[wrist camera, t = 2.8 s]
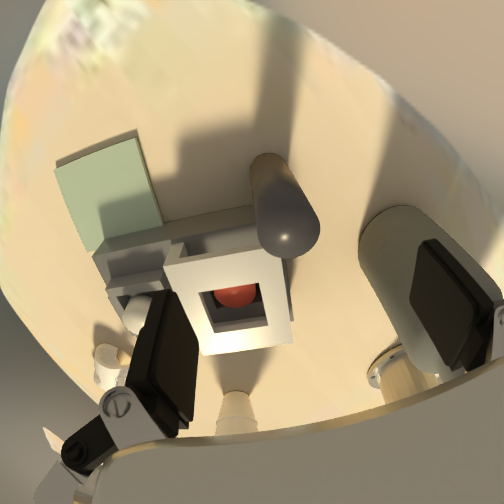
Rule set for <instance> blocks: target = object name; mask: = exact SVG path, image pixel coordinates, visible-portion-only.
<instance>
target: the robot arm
mask: <svg viewBox="0 0 504 504" xmlns="http://www.w3.org/2000/svg"><path fill="white" fill-rule="evenodd" d="M409 301H410V305H411V306H412V308H413V310H414V311H415V313H416V315H417V316H418V318H419V320H420V321H421V323H422V325H423V326H424V328H425V330H426V331H427V333H428V335H429V337H430V338H431V340H432V342H433V344H434V345H435V347H436V349H437V351H438V353H439V355H440V356H441V358H442V360H443V362H444V364H445V365H446V366H449V367H450V369H451V371H452V372H453V371H455V370H458V369H460V368H462V367H464V369H465V374H463V375H461V376H458V377H456V378H454V379H452V380H450V381H447V382H445V383H443V384H440V385H439V383H438V381H437V379H436V377H435V375H434V374H430V373H426V372H423V371H420V370H418V369H417V368H416V367H415V366H414V365H413V364H412V362H411V361H410V359H409V357H408V355H407V353H406V351H405V349H404V347H403V345H399V346H397V347H395V348H393V349H391V350H390V351H388V352H387V353H385V354H384V355H382V356H381V357H380V358H379V359H378V360H377V361H376V362H375V363H374V364H373V365H372V366H371V368H370V369H369V371H368V374H367V379H368V382H369V384H370V385H371V386H372V387H374V388H378V389H381V392H382V395H383V398H384V401H385V403H386V405H383V406H379V407H376V408H373V409H369V410H366V411H362V412H359V413H355V414H351V415H347V416H343V417H339V418H335V419H330V420H326V421H321V422H316V423H311V424H306V425H301V426H295V427H290V428H283V429H277V430H270V431H262V432H253V433H243V434H233V435H221V436H205V437H185V438H178V437H177V435H178V431H179V429H189V422H192V421H193V416H194V402H195V389H196V377H197V365H198V355H199V341H198V338H197V336H196V334H195V332H194V330H193V327H192V325H191V323H190V321H189V319H188V317H187V315H186V312H185V310H184V308H183V306H182V304H181V301H180V299H179V297H178V295H177V293H176V292H172V291H171V289H163V290H157V291H155V292H154V294H153V297H152V300H151V303H150V307H149V310H148V313H147V316H146V320H145V323H144V327H142V328H141V329H140V331H139V334H138V337H137V341H136V344H135V348H134V351H133V355H132V359H131V362H130V366H129V370H128V374H127V377H126V381H125V385H124V386H117V387H113V388H111V389H109V390H108V391H107V392H106V393H104V395H103V396H102V398H101V400H100V402H99V413H100V414H99V415H98V416H97V417H95V418H94V419H93V420H92V421H90V422H89V423H88V424H86V425H85V426H84V427H82V428H81V429H80V430H78V431H77V432H76V433H74V434H73V435H72V436H70V437H69V438H68V439H67V440H66V441H65V442H64V444H63V446H62V450H61V458H62V460H61V462H59V461H57V462H56V463H55V464H54V466H53V467H52V468H51V470H50V471H49V472H48V474H47V475H46V477H45V478H44V479H43V480H42V482H41V483H40V485H39V486H38V487H37V489H36V491H35V493H34V502H35V504H504V305H503V306H500V307H498V308H497V309H496V311H495V309H494V308H493V306H494V302H493V301H492V300H491V299H490V297H489V296H488V295H487V294H486V292H485V291H484V290H483V289H482V288H481V287H480V285H479V284H478V283H477V282H476V281H475V279H474V278H473V277H472V276H471V275H470V274H469V273H468V272H467V270H466V269H465V268H464V267H463V266H462V265H461V264H460V263H459V262H458V261H457V259H456V258H455V257H454V256H453V255H452V254H451V253H450V252H449V251H448V250H447V249H446V248H445V247H444V246H443V245H442V244H441V243H440V242H439V241H438V240H437V239H435V238H433V239H429V240H424V241H422V243H421V245H420V246H419V247H418V251H417V258H416V264H415V270H414V275H413V281H412V286H411V291H410V295H409Z"/></svg>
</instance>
